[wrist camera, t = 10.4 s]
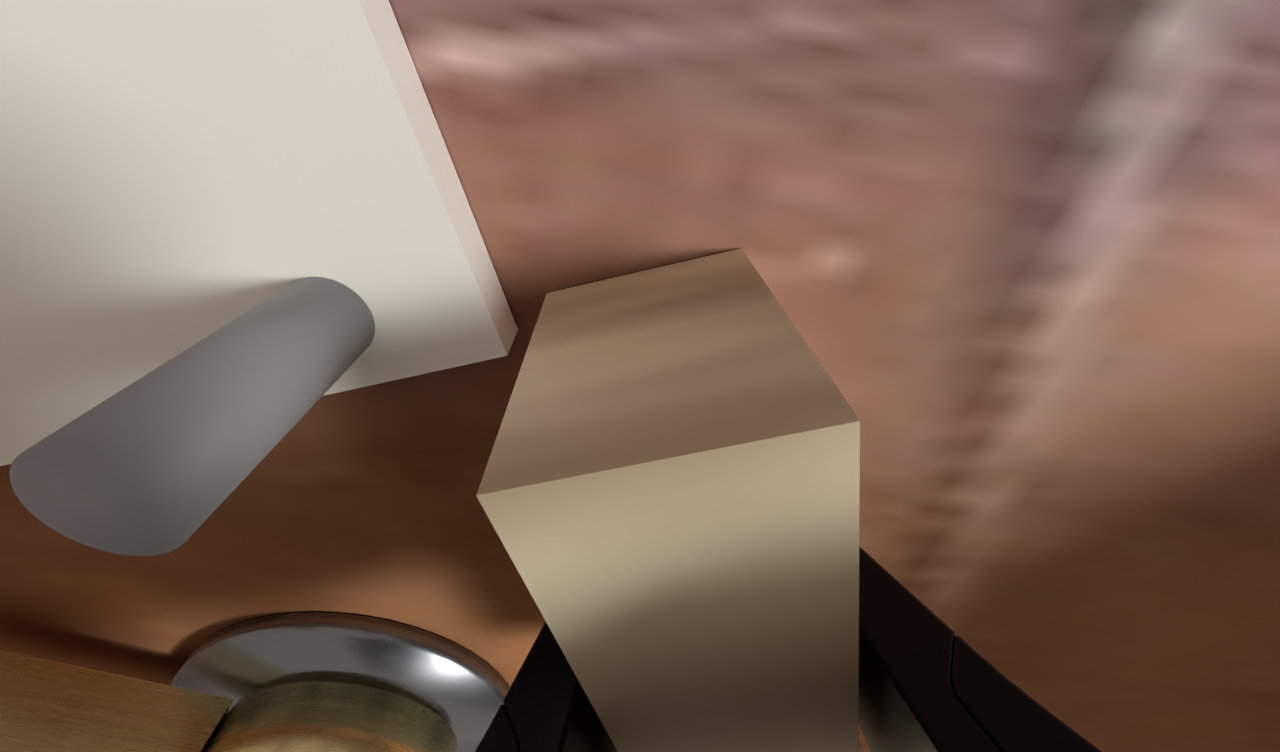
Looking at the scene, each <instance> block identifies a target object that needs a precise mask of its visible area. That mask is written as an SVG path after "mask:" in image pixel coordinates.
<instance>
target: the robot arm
mask: <svg viewBox="0 0 1280 752" xmlns="http://www.w3.org/2000/svg"><path fill="white" fill-rule="evenodd" d="M503 702H504V704H502V705H500V707H499V709H498V711H497V713H496V715H495V717H494V718H493V720H492V722H491V724H490V726H489V728H488V729H487V731H486V733H485V735H484V736H483V738H482V740H481V742H480V743H479V745H478V747H477V749H476V750H475V752H618V751H617V749H616V747H615V746H614V744H613V742H612V740H611V738H610V737H609V735H608V733H607V731H606V729H605V728H604V726H603V724H602V722H601V720H600V719H599V717H598V715H597V713H596V711H595V710H594V708H593V706H592V704H591V702H590V700H589V699H588V697H587V695H586V693H585V691H584V690H583V688H582V686H581V684H580V682H579V681H578V679H577V677H576V675H575V673H574V672H573V670H572V668H571V666H570V664H569V663H568V661H567V659H566V657H565V655H564V653H563V652H562V650H561V648H560V646H559V644H558V643H557V641H556V639H555V637H554V635H553V634H552V632H551V630H550V628H549V626H548V625H547V623H546V622H545V624H544V626H543V628H542V630H541V631H540V633H539V635H538V637H537V639H536V641H535V643H534V644H533V646H532V648H531V650H530V652H529V654H528V656H527V657H526V659H525V661H524V663H523V665H522V667H521V669H520V670H519V672H518V674H517V676H516V678H515V680H514V682H513V683H512V685H511V687H510V689H509V691H508V693H507V695H506V696H505V698H504V700H503ZM858 723H859V725H860V728H861V730H862V732H863V735H864V737H865V739H866V742H867V744H868V746H869V749H870V751H871V752H1101V751H1100V750H1099V749H1097V748H1096V747H1095V746H1093V745H1092V744H1091V743H1090V742H1088V741H1087V740H1086V739H1084V738H1083V737H1082V736H1080V735H1079V734H1078V733H1076V732H1075V731H1074V730H1072V729H1071V728H1070V727H1068V726H1067V725H1066V724H1065V723H1063V722H1062V721H1061V720H1059V719H1058V718H1057V717H1055V716H1054V715H1053V714H1051V713H1050V712H1049V711H1048V710H1046V709H1045V708H1044V707H1042V706H1041V705H1040V704H1039V703H1037V702H1036V701H1035V700H1034V699H1032V698H1031V697H1030V696H1028V695H1027V694H1026V693H1025V692H1023V691H1022V690H1021V689H1020V688H1018V687H1017V686H1016V685H1015V684H1013V683H1012V682H1011V681H1010V680H1008V679H1007V678H1006V677H1005V676H1004V675H1003V674H1001V673H1000V672H999V671H998V670H997V669H996V668H994V667H993V666H992V665H991V664H990V663H989V662H987V661H986V660H985V659H984V658H983V657H982V656H980V655H979V654H978V653H977V652H976V651H975V650H974V649H973V648H972V647H970V646H969V645H968V644H967V643H966V642H965V641H964V640H963V639H962V638H961V637H959V636H957V635H956V636H954V632H953V630H951V629H950V628H949V627H948V626H947V625H946V624H945V623H944V622H943V621H941V620H940V619H939V618H938V617H937V616H936V615H935V614H934V613H933V612H931V611H930V610H929V609H928V608H927V607H926V606H925V605H924V604H923V603H921V602H920V601H919V600H918V599H917V598H916V597H915V596H914V595H913V594H911V593H910V592H909V591H908V590H907V589H906V588H905V587H904V586H903V585H901V584H900V583H899V582H898V581H897V580H896V579H895V578H894V577H893V576H891V575H890V574H889V573H888V572H887V571H886V570H885V569H884V568H883V567H881V566H880V565H879V564H878V563H877V562H876V561H875V560H874V559H873V558H871V557H870V556H869V555H868V554H867V553H866V552H865V551H864V550H863V549H861V548H860V547H859V685H858Z"/></svg>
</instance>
